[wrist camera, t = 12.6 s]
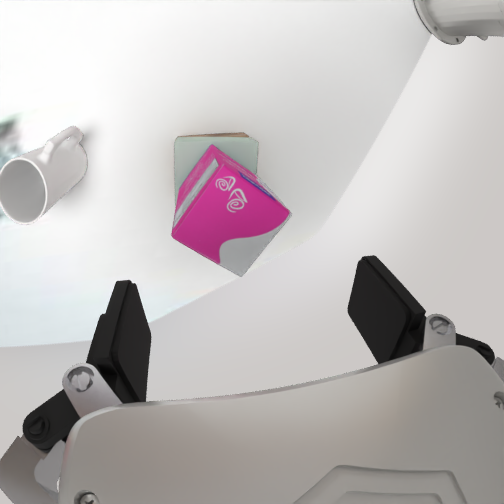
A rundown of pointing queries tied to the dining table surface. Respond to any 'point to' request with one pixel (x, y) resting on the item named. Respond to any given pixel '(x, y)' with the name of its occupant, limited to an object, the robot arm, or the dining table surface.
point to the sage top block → (195, 147)
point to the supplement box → (226, 212)
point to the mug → (42, 176)
